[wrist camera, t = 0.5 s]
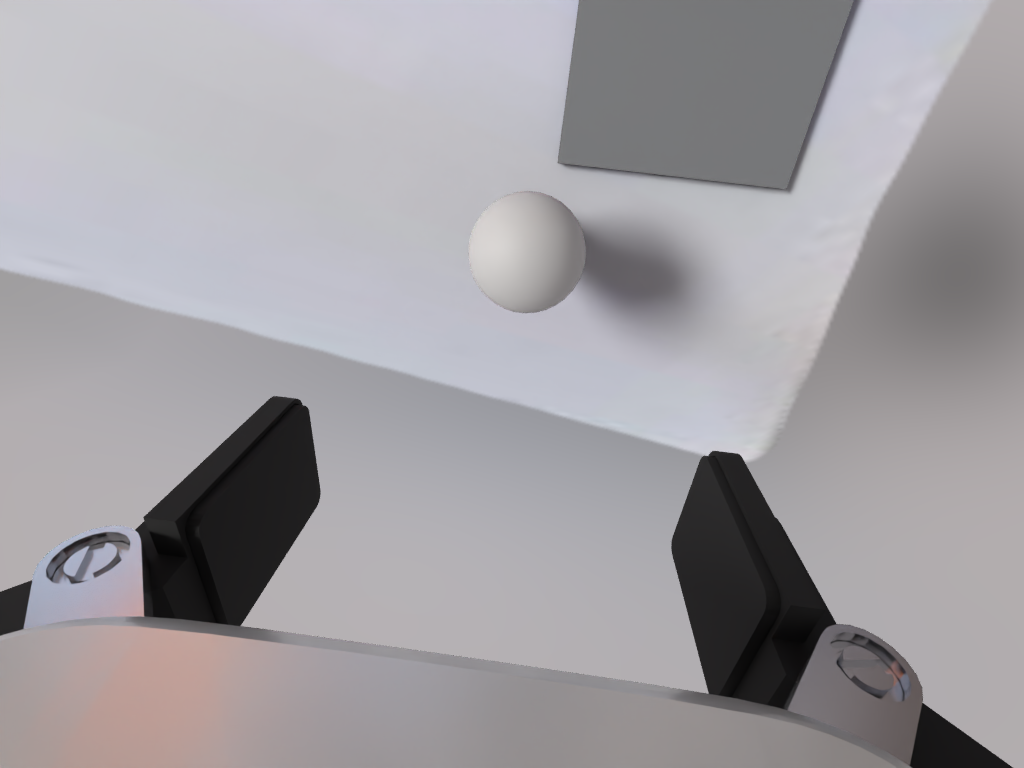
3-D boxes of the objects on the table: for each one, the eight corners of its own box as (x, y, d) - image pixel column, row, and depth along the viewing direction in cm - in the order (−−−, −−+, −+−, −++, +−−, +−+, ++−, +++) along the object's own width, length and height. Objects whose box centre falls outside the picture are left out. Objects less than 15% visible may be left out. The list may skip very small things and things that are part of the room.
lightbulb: (592, 252, 32) (605, 306, 22) (509, 283, 34) (489, 346, 24) (562, 160, 30) (562, 177, 20) (474, 198, 31) (436, 231, 22)
